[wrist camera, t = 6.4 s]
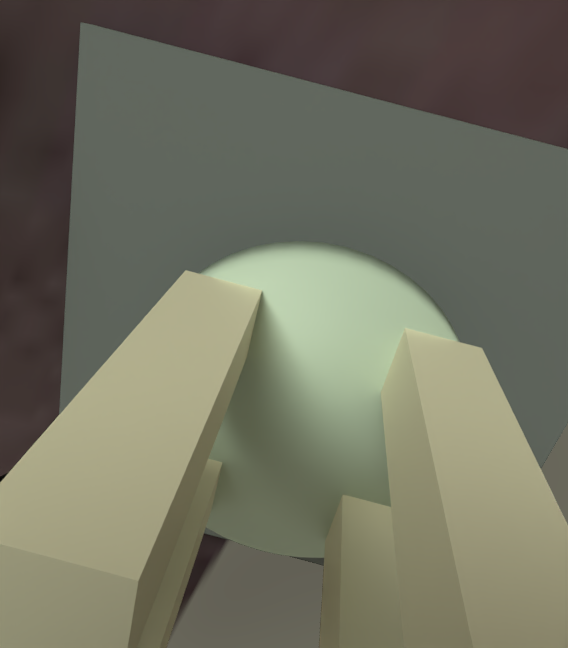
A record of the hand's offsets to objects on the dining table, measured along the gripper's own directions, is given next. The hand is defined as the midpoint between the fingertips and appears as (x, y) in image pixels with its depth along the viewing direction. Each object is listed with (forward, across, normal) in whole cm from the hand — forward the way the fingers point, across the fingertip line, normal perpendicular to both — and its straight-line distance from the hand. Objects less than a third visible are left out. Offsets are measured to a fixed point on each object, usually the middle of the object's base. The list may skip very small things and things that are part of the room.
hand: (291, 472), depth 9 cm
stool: (+2, 0, 0) cm, 2 cm away
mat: (+4, 0, 0) cm, 4 cm away
